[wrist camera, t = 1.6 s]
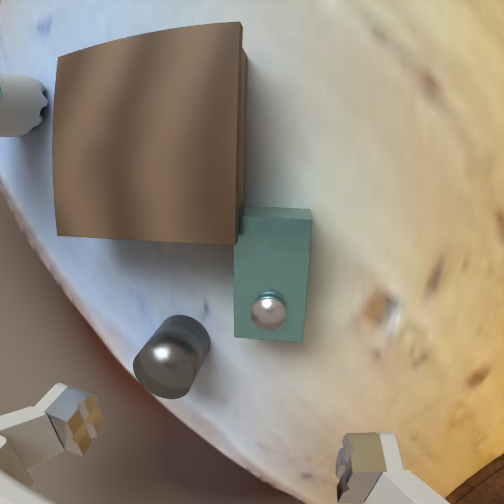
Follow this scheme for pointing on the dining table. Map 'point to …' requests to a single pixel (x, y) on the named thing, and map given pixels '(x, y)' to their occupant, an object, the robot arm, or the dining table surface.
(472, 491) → the cutting board
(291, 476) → the dining table surface
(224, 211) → the stand
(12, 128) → the bottle
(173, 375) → the tin
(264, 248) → the block
